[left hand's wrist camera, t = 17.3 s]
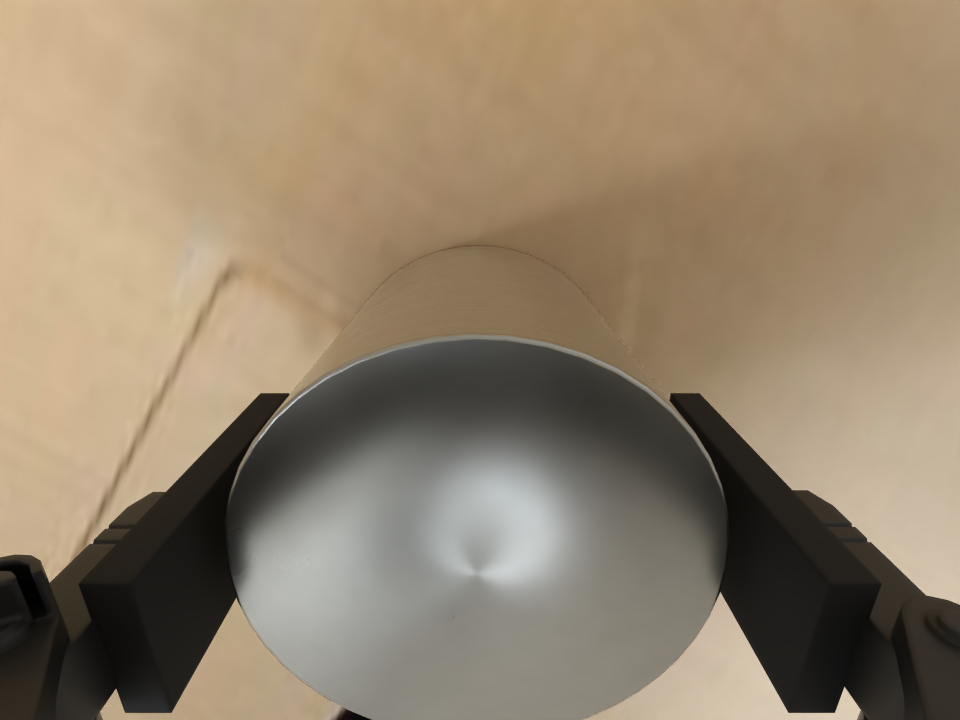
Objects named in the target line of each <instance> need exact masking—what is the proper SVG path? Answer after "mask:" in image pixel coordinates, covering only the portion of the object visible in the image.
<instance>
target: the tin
mask: <svg viewBox="0 0 960 720" xmlns="http://www.w3.org/2000/svg"><path fill="white" fill-rule="evenodd" d="M729 543H730V539H729V521H728V510H727V506H726V501H725V497H724V492H723V488H722V484H721V482H720V479H719V477H718V475H717V472H716V470H715V467H714V465H713V462H712V460H711V458H710V456H709V455H708V453H707V451H706V450H705V448H704V446H703V445H702V443H701V442H700V440H699V438H698V437H697V435H696V434H695V432H694V431H693V430H692V428H691V427H690V426H689V425H688V423H687V422H686V421H685V420H684V418H683V417H682V416H681V415H680V413H679V412H678V411H677V410H676V408H675V407H674V406H673V405H672V403H671V402H670V401H669V400H668V398H667V397H666V396H665V395H664V393H663V392H662V391H661V390H660V388H659V387H658V386H657V385H656V383H655V382H654V381H653V380H652V378H651V377H650V376H649V375H648V374H647V372H646V371H645V370H644V369H643V367H642V366H641V365H640V364H639V362H638V361H637V360H636V359H635V357H634V356H633V355H632V354H631V352H630V351H629V350H628V349H627V347H626V346H625V345H624V344H623V342H622V341H621V340H620V339H619V337H618V336H617V335H616V334H615V332H614V331H613V330H612V329H611V327H610V326H609V325H608V324H607V322H606V321H605V320H604V319H603V317H602V316H601V315H600V314H599V313H598V311H597V310H596V309H595V308H594V306H593V305H592V304H591V303H590V301H589V300H588V299H587V298H586V296H585V295H584V294H583V293H582V292H581V291H580V290H579V288H578V287H577V286H576V285H575V284H574V283H573V282H572V281H570V280H569V279H568V278H567V277H566V276H565V275H564V274H562V273H561V272H559V271H558V270H556V269H555V268H553V267H552V266H550V265H549V264H547V263H545V262H543V261H541V260H539V259H537V258H535V257H532V256H530V255H527V254H524V253H521V252H518V251H515V250H511V249H505V248H500V247H493V246H466V247H456V248H451V249H447V250H442V251H438V252H435V253H433V254H430V255H427V256H424V257H422V258H419V259H418V260H416V261H414V262H412V263H410V264H408V265H406V266H404V267H403V268H402V269H400V270H399V271H398V272H396V273H395V274H393V275H392V276H391V277H389V278H388V279H387V280H386V281H385V282H384V283H383V284H382V285H381V286H380V287H379V288H378V289H377V290H376V291H375V292H374V294H373V295H372V296H371V297H370V298H369V300H368V301H367V302H366V303H365V304H364V306H363V307H362V308H361V309H360V310H359V312H358V313H357V314H356V315H355V316H354V318H353V319H352V320H351V321H350V323H349V324H348V325H347V326H346V327H345V329H344V330H343V331H342V332H341V333H340V335H339V336H338V337H337V338H336V339H335V341H334V342H333V343H332V344H331V345H330V347H329V348H328V349H327V350H326V352H325V353H324V354H323V355H322V356H321V358H320V359H319V360H318V361H317V362H316V364H315V365H314V366H313V367H312V368H311V370H310V371H309V372H308V373H307V374H306V376H305V377H304V378H303V379H302V381H301V382H300V383H299V384H298V385H297V387H296V388H295V389H294V390H293V391H292V393H291V394H290V395H289V396H288V397H287V399H286V400H285V401H284V402H283V403H282V405H281V406H280V407H279V408H278V410H277V411H276V412H275V413H274V414H273V416H272V417H271V418H270V419H269V421H268V422H267V423H266V425H265V426H264V427H263V428H262V430H261V431H260V432H259V434H258V435H257V436H256V437H255V439H254V440H253V442H252V444H251V445H250V447H249V449H248V451H247V453H246V455H245V456H244V458H243V460H242V462H241V464H240V466H239V468H238V471H237V474H236V476H235V479H234V482H233V485H232V488H231V491H230V494H229V500H228V506H227V512H226V518H225V553H226V559H227V565H228V571H229V577H230V580H231V583H232V586H233V588H234V591H235V594H236V597H237V600H238V602H239V604H240V606H241V608H242V610H243V612H244V614H245V616H246V618H247V620H248V622H249V624H250V625H251V627H252V628H253V630H254V631H255V632H256V634H257V635H258V637H259V638H260V640H261V641H262V642H263V644H264V645H265V646H266V647H267V649H268V650H269V651H270V652H271V653H272V654H273V655H274V656H275V657H276V658H277V659H278V661H279V662H280V663H281V664H282V665H283V666H284V667H286V668H287V669H288V670H289V671H290V672H291V673H293V674H294V675H295V676H296V677H297V678H298V679H300V680H301V681H302V682H303V683H305V684H306V685H308V686H309V687H311V688H312V689H314V690H315V691H316V692H318V693H319V694H321V695H322V696H324V697H325V698H327V699H329V700H331V701H333V702H335V703H337V704H339V705H340V706H342V707H344V708H346V709H348V710H350V711H353V712H355V713H357V714H360V715H362V716H365V717H367V718H369V719H372V720H583V719H586V718H588V717H591V716H593V715H595V714H598V713H600V712H602V711H604V710H606V709H609V708H611V707H613V706H615V705H617V704H618V703H620V702H622V701H624V700H625V699H627V698H629V697H631V696H632V695H634V694H636V693H637V692H639V691H640V690H642V689H643V688H644V687H646V686H647V685H648V684H650V683H651V682H652V681H654V680H655V679H656V678H658V677H659V676H660V675H661V674H662V673H663V672H665V671H666V670H667V669H668V668H669V667H670V666H671V665H672V664H673V663H674V662H675V661H676V660H677V659H678V658H679V657H680V656H681V655H682V654H683V653H684V651H685V650H686V649H687V648H688V647H689V645H690V644H691V643H692V642H693V641H694V639H695V638H696V637H697V635H698V633H699V632H700V630H701V629H702V627H703V625H704V624H705V622H706V621H707V619H708V618H709V616H710V614H711V611H712V609H713V607H714V605H715V602H716V600H717V598H718V596H719V594H720V590H721V587H722V583H723V579H724V576H725V572H726V569H727V561H728V552H729Z"/></svg>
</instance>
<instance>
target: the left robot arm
mask: <svg viewBox="0 0 960 720" xmlns="http://www.w3.org/2000/svg"><path fill="white" fill-rule="evenodd" d="M288 396H289V393H261V394H260V395H259V396H258V397H257V398H256V399H255V400H254V401H253V402H252V403H251V404H250V405H249V406H248V407H247V408H246V409H245V410H244V411H243V412H242V413H241V414H240V415H239V416H238V418H237V419H236V420H235V421H234V422H233V423H232V424H231V425H230V426H229V427H228V428H227V429H226V430H225V431H224V432H223V433H222V434H221V435H220V436H219V437H218V438H217V439H216V440H215V442H214V443H213V444H212V445H211V446H210V447H209V448H208V449H207V450H206V451H205V452H204V453H203V454H202V455H201V456H200V457H199V458H198V459H197V460H196V461H195V462H194V463H193V464H192V466H191V467H190V468H189V469H188V470H187V471H186V472H185V473H184V474H183V475H182V476H181V477H180V478H179V479H178V480H177V481H176V482H175V483H174V484H173V485H172V486H171V487H170V488H169V490H168V491H167V492H152V493H151V494H149V495H147V496H146V497H144V498H142V499H141V500H139V501H137V502H136V503H134V504H132V505H131V506H129V507H127V508H126V509H125V510H124V511H123V512H122V513H121V514H120V515H119V516H118V517H117V518H116V519H115V520H114V521H113V522H112V523H111V524H110V525H109V528H108V529H105V530H104V531H103V532H102V533H101V534H100V535H99V536H98V537H96V538H95V539H94V542H93V544H89V545H88V546H87V547H86V548H85V549H84V550H83V551H82V552H81V553H80V554H79V555H78V556H77V557H76V558H75V559H74V560H73V561H72V562H71V563H70V564H69V565H68V566H67V567H66V568H65V569H64V570H63V571H62V572H61V573H59V574H58V575H57V576H56V577H55V578H54V579H53V580H52V581H51V582H50V583H49V581H48V578H47V576H46V573H45V571H44V568H43V565H42V563H41V561H40V560H38V559H37V558H35V557H33V556H31V555H11V556H6V557H1V558H0V720H103V719H102V716H101V714H100V711H101V709H102V708H103V706H104V705H105V703H106V702H107V701H108V699H109V698H110V696H111V695H112V693H113V692H114V690H115V689H117V692H118V694H119V697H120V700H121V703H122V705H123V708H124V711H125V713H172V711H173V709H174V707H175V705H176V704H177V702H178V700H179V698H180V697H181V695H182V693H183V691H184V689H185V688H186V686H187V684H188V682H189V681H190V679H191V677H192V675H193V674H194V672H195V670H196V668H197V666H198V665H199V663H200V661H201V659H202V658H203V656H204V654H205V652H206V650H207V649H208V647H209V645H210V643H211V642H212V640H213V638H214V636H215V634H216V633H217V631H218V629H219V627H220V626H221V624H222V622H223V620H224V618H225V617H226V615H227V613H228V611H229V610H230V608H231V606H232V604H233V602H234V601H235V599H236V594H235V591H234V588H233V586H232V583H231V580H230V577H229V571H228V565H227V559H226V553H225V518H226V512H227V506H228V500H229V494H230V491H231V488H232V485H233V482H234V479H235V476H236V474H237V471H238V468H239V466H240V464H241V462H242V460H243V458H244V456H245V455H246V453H247V451H248V449H249V447H250V445H251V444H252V442H253V440H254V439H255V437H256V436H257V435H258V434H259V432H260V431H261V430H262V428H263V427H264V426H265V425H266V423H267V422H268V421H269V419H270V418H271V417H272V416H273V414H274V413H275V412H276V411H277V410H278V408H279V407H280V406H281V405H282V403H283V402H284V401H285V400H286V399H287V397H288ZM670 402H671V403H672V405H673V406H674V407H675V408H676V410H677V411H678V412H679V413H680V415H681V416H682V417H683V418H684V420H685V421H686V422H687V423H688V425H689V426H690V427H691V428H692V430H693V431H694V432H695V434H696V435H697V437H698V438H699V440H700V442H701V443H702V445H703V446H704V448H705V450H706V451H707V453H708V455H709V456H710V458H711V460H712V462H713V465H714V467H715V470H716V472H717V475H718V477H719V479H720V482H721V484H722V488H723V492H724V497H725V501H726V506H727V510H728V521H729V539H730V543H729V552H728V561H727V569H726V572H725V576H724V579H723V583H722V587H721V590H720V592H721V594H722V595H723V597H724V599H725V601H726V602H727V604H728V606H729V608H730V610H731V611H732V613H733V615H734V617H735V618H736V620H737V622H738V624H739V626H740V627H741V629H742V631H743V633H744V634H745V636H746V638H747V640H748V642H749V643H750V645H751V647H752V649H753V650H754V652H755V654H756V656H757V658H758V659H759V661H760V663H761V665H762V666H763V668H764V670H765V672H766V674H767V675H768V677H769V679H770V681H771V682H772V684H773V686H774V688H775V690H776V691H777V693H778V695H779V697H780V698H781V700H782V702H783V704H784V705H785V707H786V709H787V711H788V713H835V711H836V708H837V705H838V703H839V700H840V697H841V694H842V692H843V689H844V686H845V688H846V689H847V691H848V692H849V693H850V695H851V696H852V698H853V699H854V701H855V702H856V703H857V705H858V706H859V708H860V709H861V711H860V714H859V716H858V719H857V720H960V605H959V604H956V603H954V602H951V601H949V600H945V599H940V598H935V597H930V596H926V595H925V594H924V593H923V592H922V591H921V590H920V589H919V588H918V587H917V586H916V585H915V584H914V583H913V582H911V581H910V580H909V579H908V578H907V577H906V576H905V575H904V574H903V573H902V572H901V571H900V570H899V569H898V568H897V567H896V566H895V565H894V564H893V563H892V562H891V561H890V560H889V559H888V558H887V557H886V556H885V555H884V554H883V553H881V552H880V551H879V550H878V549H877V548H876V547H875V546H874V545H873V544H872V543H871V542H867V538H866V537H865V536H864V535H863V534H862V533H861V532H860V531H859V530H858V529H857V528H856V527H852V525H851V523H850V522H849V521H848V520H847V519H846V518H845V517H844V516H843V515H842V514H841V513H840V512H839V511H838V510H837V509H836V508H835V507H834V506H833V505H831V504H829V503H828V502H826V501H824V500H823V499H821V498H819V497H818V496H816V495H814V494H813V493H811V492H809V491H808V490H791V488H790V487H789V486H788V485H787V484H786V483H785V482H784V481H783V480H782V479H781V478H780V477H779V476H778V475H777V474H776V473H775V472H774V471H773V470H772V469H771V468H770V467H769V466H768V464H767V463H766V462H765V461H764V460H763V459H762V458H761V457H760V456H759V455H758V454H757V453H756V452H755V451H754V450H753V449H752V448H751V447H750V446H749V445H748V444H747V443H746V442H745V440H744V439H743V438H742V437H741V436H740V435H739V434H738V433H737V432H736V431H735V430H734V429H733V428H732V427H731V426H730V425H729V424H728V423H727V422H726V421H725V420H724V419H723V418H722V417H721V415H720V414H719V413H718V412H717V411H716V410H715V409H714V408H713V407H712V406H711V405H710V404H709V403H708V402H707V401H706V400H705V399H704V398H703V397H702V396H701V395H700V394H699V393H671V395H670Z"/></svg>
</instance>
